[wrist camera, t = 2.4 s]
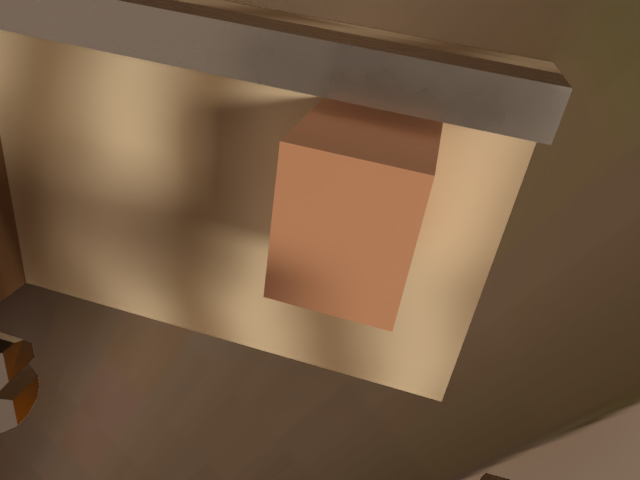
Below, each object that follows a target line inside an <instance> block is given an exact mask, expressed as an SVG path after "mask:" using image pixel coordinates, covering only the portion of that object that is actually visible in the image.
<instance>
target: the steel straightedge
mask: <svg viewBox="0 0 640 480" xmlns="http://www.w3.org/2000/svg"><path fill="white" fill-rule="evenodd" d="M0 30H4V31H9V32H13V33H18V34H23V35H28V36H32V37H37V38H42V39H47V40H51V41H56V42H61V43H66V44H71V45H75V46H80V47H85V48H90V49H94V50H99V51H104V52H109V53H114V54H118V55H123V56H128V57H133V58H137V59H142V60H147V61H152V62H157V63H161V64H166V65H171V66H176V67H180V68H185V69H190V70H195V71H200V72H204V73H209V74H214V75H219V76H223V77H228V78H233V79H238V80H242V81H247V82H252V83H257V84H262V85H266V86H271V87H276V88H281V89H285V90H290V91H295V92H300V93H305V94H309V95H314V96H319V97H324V98H328V99H333V100H338V101H343V102H348V103H352V104H357V105H362V106H367V107H371V108H376V109H381V110H386V111H391V112H395V113H400V114H405V115H410V116H414V117H419V118H424V119H429V120H433V121H438V122H443V123H448V124H453V125H457V126H462V127H467V128H472V129H476V130H481V131H486V132H491V133H496V134H500V135H505V136H510V137H515V138H519V139H524V140H529V141H534V142H539V143H543V144H548V145H551V144H552V141H553V139H554V136H555V133H556V131H557V128H558V125H559V123H560V120H561V118H562V115H563V112H564V110H565V107H566V105H567V102H568V99H569V97H570V94H571V91H572V89H573V88H572V87H571V85H570V84H569V83H568V82H567V80H566V79H565V78H564V76H563V75H562V74H560V73H555V72H550V71H544V70H539V69H534V68H529V67H523V66H518V65H513V64H508V63H502V62H497V61H492V60H487V59H481V58H476V57H471V56H465V55H460V54H455V53H450V52H444V51H439V50H434V49H429V48H423V47H418V46H413V45H408V44H402V43H397V42H392V41H387V40H381V39H376V38H371V37H365V36H360V35H355V34H350V33H344V32H339V31H334V30H329V29H323V28H318V27H313V26H308V25H302V24H297V23H292V22H286V21H281V20H276V19H271V18H265V17H260V16H255V15H250V14H244V13H239V12H234V11H229V10H223V9H218V8H213V7H208V6H202V5H197V4H192V3H186V2H181V1H176V0H0Z"/></svg>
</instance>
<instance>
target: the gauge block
mask: <svg viewBox="0 0 640 480" xmlns="http://www.w3.org/2000/svg"><path fill="white" fill-rule="evenodd" d="M442 126H443V122H438V121H433V120H429V119H424V118H419V117H414V116H410V115H405V114H400V113H395V112H391V111H386V110H381V109H376V108H371V107H367V106H362V105H357V104H352V103H348V102H343V101H338V100H333V99H328V98H323V99H322V100H321V101H320V102H319V103H318V104H317V105H316V106H315V107H314V108H313V109H312V110H311V111H310V112H309V113H308V114H307V115H306V116H305V117H304V118H303V119H302V120H301V121H300V122H299V123H298V124H297V125H296V126H295V127H294V128H293V129H292V130H291V131H290V132H289V133H288V134H287V135H286V136H285V137H284V138H283V139H282V140H281V141H280V145H279V154H278V164H277V173H276V183H275V192H274V202H273V211H272V221H271V230H270V239H269V249H268V258H267V268H266V277H265V287H264V296H263V297H265V298H269V299H272V300H276V301H280V302H283V303H287V304H291V305H295V306H298V307H302V308H306V309H309V310H313V311H317V312H320V313H324V314H328V315H331V316H335V317H339V318H343V319H346V320H350V321H354V322H357V323H361V324H365V325H368V326H372V327H376V328H380V329H383V330H387V331H391V332H392V331H393V328H394V324H395V320H396V317H397V313H398V309H399V306H400V302H401V298H402V295H403V291H404V287H405V284H406V280H407V276H408V273H409V269H410V265H411V262H412V258H413V254H414V251H415V247H416V243H417V240H418V236H419V232H420V228H421V225H422V221H423V217H424V214H425V210H426V206H427V203H428V199H429V195H430V192H431V188H432V184H433V181H434V177H435V171H436V165H437V158H438V152H439V146H440V139H441V133H442Z"/></svg>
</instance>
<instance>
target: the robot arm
mask: <svg viewBox="0 0 640 480" xmlns="http://www.w3.org/2000/svg"><path fill="white" fill-rule="evenodd" d="M34 357H35V355H34V351H33V347H32V343H30V342H28V341H25V340H23V339H20V338H17V337H13V336H10V335H7V334H4V333H1V332H0V433H2V432H4V431H7V430H9V429H11V428H14V427H16V426H18V425H19V424H20V423H21V422H22V420H23V419H24V418H25V417H26V416H27V415H28V414H29V413H30V411H31V409H32V407H33V405H34V403H35V401H36V399H37V397H38V391H39V379H38V375H37V373H36V372H35V371H34V370H33V368H32V367H31V366H30V365H29V363H30V362H31V361H32V360H33V359H34ZM480 480H509V479H505V478H502V477H499V476H494V475H491V474H488V473H485V474H484V475H483V476H482V477H481V479H480Z"/></svg>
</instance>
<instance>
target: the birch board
mask: <svg viewBox="0 0 640 480" xmlns="http://www.w3.org/2000/svg"><path fill="white" fill-rule="evenodd" d="M176 1H181V2H186V3H192V4H197V5H202V6H208V7H213V8H218V9H223V10H229V11H234V12H239V13H244V14H250V15H255V16H260V17H265V18H271V19H276V20H281V21H286V22H292V23H297V24H302V25H308V26H313V27H318V28H323V29H329V30H334V31H339V32H344V33H350V34H355V35H360V36H365V37H371V38H376V39H381V40H387V41H392V42H397V43H402V44H408V45H413V46H418V47H423V48H429V49H434V50H439V51H444V52H450V53H455V54H460V55H465V56H471V57H476V58H481V59H487V60H492V61H497V62H502V63H508V64H513V65H518V66H523V67H529V68H534V69H539V70H544V71H550V72H555V73H560V71H559V70H558V69H557V67H556V66H555V65H554V64H553V62H549V61H544V60H539V59H533V58H528V57H523V56H517V55H512V54H507V53H501V52H496V51H491V50H485V49H480V48H475V47H469V46H464V45H459V44H453V43H448V42H443V41H437V40H432V39H427V38H421V37H416V36H411V35H405V34H400V33H395V32H389V31H384V30H379V29H373V28H368V27H362V26H357V25H352V24H346V23H341V22H336V21H330V20H325V19H320V18H314V17H309V16H304V15H298V14H293V13H288V12H282V11H277V10H272V9H266V8H261V7H256V6H250V5H245V4H240V3H234V2H229V1H224V0H176ZM560 74H561V73H560ZM323 98H324V97H319V96H314V95H309V94H305V93H300V92H295V91H290V90H285V89H281V88H276V87H271V86H266V85H262V84H257V83H252V82H247V81H242V80H238V79H233V78H228V77H223V76H219V75H214V74H209V73H204V72H200V71H195V70H190V69H185V68H180V67H176V66H171V65H166V64H161V63H157V62H152V61H147V60H142V59H137V58H133V57H128V56H123V55H118V54H114V53H109V52H104V51H99V50H94V49H90V48H85V47H80V46H75V45H71V44H66V43H61V42H56V41H51V40H47V39H42V38H37V37H32V36H28V35H23V34H18V33H13V32H9V31H4V30H0V302H1V301H2V300H4V299H5V298H6V297H8V296H9V295H10V294H12V293H13V292H15V291H16V290H17V289H19V288H20V287H21V286H23V285H24V284H25V283H29V284H32V285H36V286H39V287H43V288H46V289H50V290H53V291H57V292H60V293H64V294H67V295H71V296H74V297H78V298H81V299H85V300H88V301H92V302H95V303H99V304H102V305H106V306H109V307H113V308H116V309H120V310H123V311H127V312H130V313H134V314H137V315H141V316H144V317H148V318H151V319H155V320H158V321H162V322H165V323H169V324H172V325H176V326H179V327H183V328H186V329H190V330H193V331H197V332H200V333H204V334H207V335H211V336H214V337H218V338H221V339H225V340H228V341H232V342H235V343H239V344H242V345H246V346H249V347H253V348H256V349H260V350H263V351H267V352H270V353H274V354H277V355H281V356H284V357H288V358H291V359H295V360H298V361H301V362H305V363H308V364H312V365H315V366H319V367H322V368H326V369H329V370H333V371H336V372H340V373H343V374H347V375H350V376H354V377H357V378H361V379H364V380H368V381H371V382H375V383H378V384H382V385H385V386H389V387H392V388H396V389H399V390H403V391H406V392H410V393H413V394H417V395H420V396H424V397H427V398H431V399H434V400H438V401H441V402H442V399H443V396H444V393H445V391H446V388H447V385H448V382H449V380H450V377H451V374H452V372H453V369H454V366H455V363H456V361H457V358H458V355H459V352H460V350H461V347H462V344H463V341H464V339H465V336H466V333H467V331H468V328H469V325H470V322H471V320H472V317H473V314H474V311H475V309H476V306H477V303H478V300H479V298H480V295H481V292H482V290H483V287H484V284H485V281H486V279H487V276H488V273H489V270H490V268H491V265H492V262H493V259H494V257H495V254H496V251H497V248H498V246H499V243H500V240H501V238H502V235H503V232H504V229H505V227H506V224H507V221H508V218H509V216H510V213H511V210H512V207H513V205H514V202H515V199H516V197H517V194H518V191H519V188H520V186H521V183H522V180H523V177H524V175H525V172H526V169H527V166H528V164H529V161H530V158H531V155H532V153H533V150H534V147H535V145H536V142H534V141H529V140H524V139H519V138H515V137H510V136H505V135H500V134H496V133H491V132H486V131H481V130H476V129H472V128H467V127H462V126H457V125H453V124H448V123H443V126H442V133H441V139H440V146H439V152H438V158H437V165H436V171H435V177H434V181H433V184H432V188H431V192H430V195H429V199H428V203H427V206H426V210H425V214H424V217H423V221H422V225H421V228H420V232H419V236H418V240H417V243H416V247H415V251H414V254H413V258H412V262H411V265H410V269H409V273H408V276H407V280H406V284H405V287H404V291H403V295H402V298H401V302H400V306H399V309H398V313H397V317H396V320H395V324H394V328H393V331H392V332H391V331H387V330H383V329H380V328H376V327H372V326H368V325H365V324H361V323H357V322H354V321H350V320H346V319H343V318H339V317H335V316H331V315H328V314H324V313H320V312H317V311H313V310H309V309H306V308H302V307H298V306H295V305H291V304H287V303H283V302H280V301H276V300H272V299H269V298H265V297H263V296H264V287H265V277H266V268H267V258H268V249H269V239H270V230H271V221H272V211H273V202H274V192H275V183H276V173H277V164H278V154H279V145H280V141H281V140H282V139H283V138H284V137H285V136H286V135H287V134H288V133H289V132H290V131H291V130H292V129H293V128H294V127H295V126H296V125H297V124H298V123H299V122H300V121H301V120H302V119H303V118H304V117H305V116H306V115H307V114H308V113H309V112H310V111H311V110H312V109H313V108H314V107H315V106H316V105H317V104H318V103H319V102H320V101H321V100H322V99H323Z"/></svg>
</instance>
